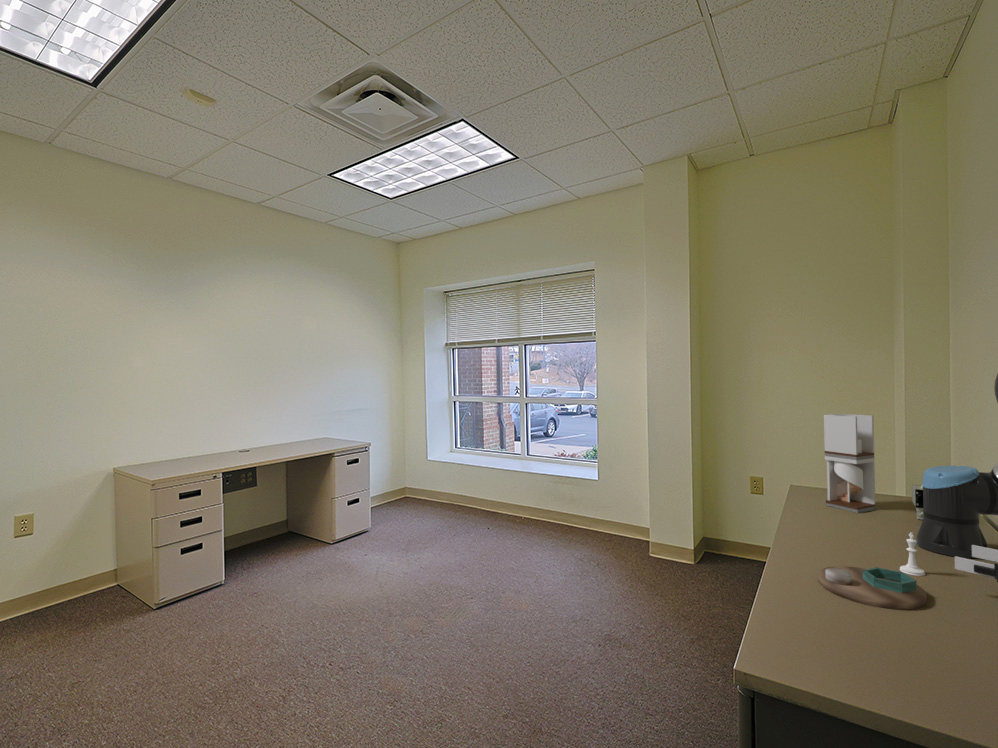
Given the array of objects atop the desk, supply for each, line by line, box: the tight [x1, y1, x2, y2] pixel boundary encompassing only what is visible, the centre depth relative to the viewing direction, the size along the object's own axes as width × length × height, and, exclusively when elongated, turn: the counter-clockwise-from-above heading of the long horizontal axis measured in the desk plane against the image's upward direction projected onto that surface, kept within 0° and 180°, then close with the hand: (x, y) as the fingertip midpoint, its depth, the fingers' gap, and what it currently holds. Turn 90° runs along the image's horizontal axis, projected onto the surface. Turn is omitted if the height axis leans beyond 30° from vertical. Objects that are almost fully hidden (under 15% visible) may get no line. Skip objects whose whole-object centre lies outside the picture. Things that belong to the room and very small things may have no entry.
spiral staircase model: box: [823, 413, 876, 514], centre depth 184 cm, size 11×11×35 cm
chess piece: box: [899, 531, 926, 577], centre depth 123 cm, size 5×5×10 cm
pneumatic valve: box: [911, 483, 924, 521], centre depth 168 cm, size 6×12×12 cm, turn 145°
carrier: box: [817, 565, 928, 611], centre depth 113 cm, size 20×20×4 cm
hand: (963, 556), depth 115 cm, fingers open, 13 cm apart
